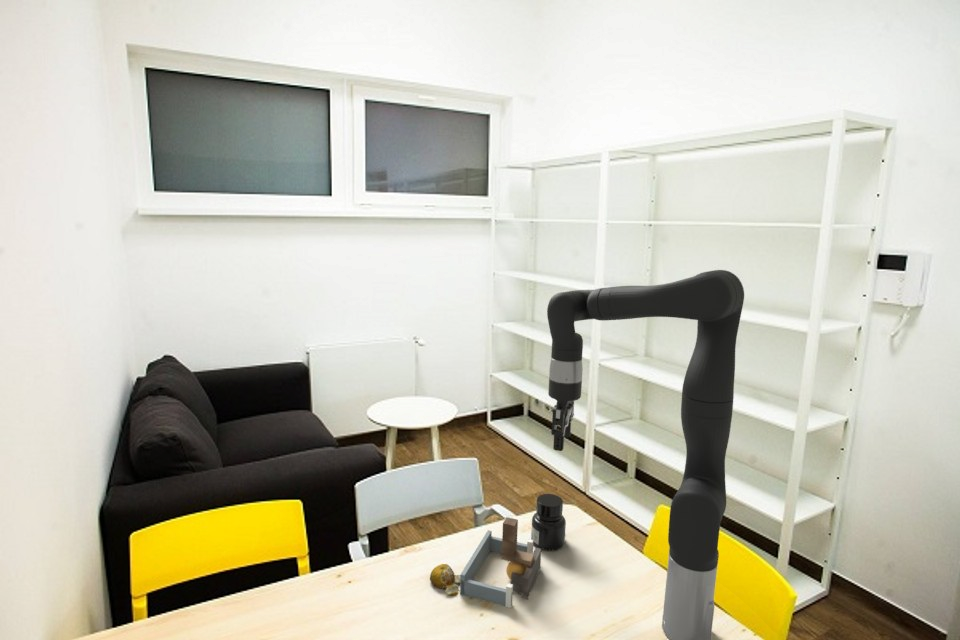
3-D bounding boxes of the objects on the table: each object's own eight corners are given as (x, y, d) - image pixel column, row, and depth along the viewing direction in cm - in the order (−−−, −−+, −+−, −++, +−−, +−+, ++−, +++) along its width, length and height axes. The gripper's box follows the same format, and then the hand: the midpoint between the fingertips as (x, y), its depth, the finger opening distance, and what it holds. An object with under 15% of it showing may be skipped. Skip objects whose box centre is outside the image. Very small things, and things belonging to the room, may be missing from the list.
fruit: (455, 599, 121) (455, 585, 121) (422, 588, 125) (422, 574, 124) (470, 577, 129) (470, 563, 128) (439, 568, 132) (439, 554, 131)
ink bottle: (535, 528, 150) (537, 488, 147) (567, 535, 147) (570, 494, 145) (527, 548, 141) (528, 505, 138) (560, 555, 138) (563, 512, 136)
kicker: (540, 567, 132) (542, 514, 130) (527, 599, 121) (530, 541, 118) (510, 560, 135) (512, 507, 132) (494, 590, 124) (496, 533, 121)
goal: (532, 558, 137) (533, 540, 136) (510, 608, 119) (511, 587, 118) (487, 547, 141) (488, 529, 140) (459, 594, 123) (460, 574, 122)
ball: (505, 562, 131) (521, 577, 130) (499, 575, 127) (515, 590, 126) (518, 550, 130) (534, 565, 129) (512, 562, 125) (528, 578, 124)
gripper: (576, 387, 117) (572, 457, 120) (586, 371, 130) (582, 434, 133) (542, 383, 120) (539, 452, 123) (556, 367, 133) (552, 430, 136)
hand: (562, 443), depth 128 cm, fingers open, 8 cm apart
